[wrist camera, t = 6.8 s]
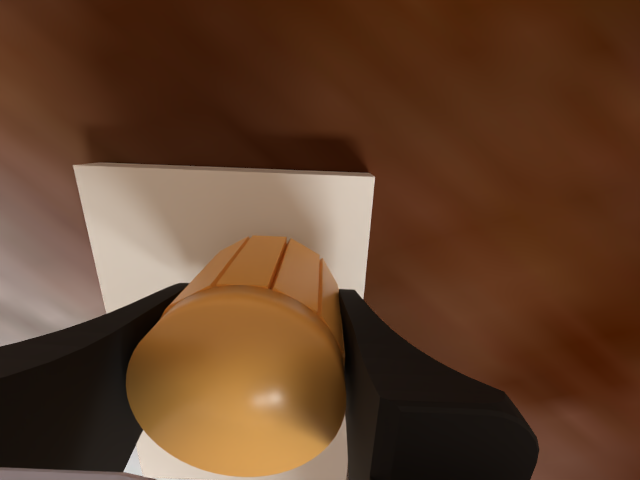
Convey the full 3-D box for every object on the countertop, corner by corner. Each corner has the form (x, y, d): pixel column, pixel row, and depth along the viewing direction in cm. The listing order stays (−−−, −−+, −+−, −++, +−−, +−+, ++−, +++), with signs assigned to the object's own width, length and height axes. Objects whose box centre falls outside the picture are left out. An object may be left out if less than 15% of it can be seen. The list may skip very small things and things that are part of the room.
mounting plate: (369, 172, 13) (395, 191, 8) (344, 459, 19) (350, 566, 14) (99, 162, 13) (-26, 175, 8) (156, 452, 19) (101, 555, 14)
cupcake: (341, 238, 11) (354, 310, 7) (334, 357, 13) (339, 480, 8) (197, 233, 11) (106, 301, 7) (209, 352, 13) (144, 473, 8)
